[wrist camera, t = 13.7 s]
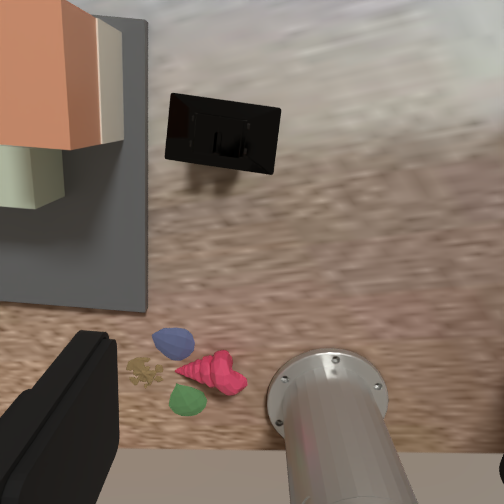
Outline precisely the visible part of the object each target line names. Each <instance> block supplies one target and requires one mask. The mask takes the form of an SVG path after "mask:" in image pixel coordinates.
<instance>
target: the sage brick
mask: <svg viewBox="0 0 504 504" xmlns="http://www.w3.org/2000/svg"><path fill="white" fill-rule="evenodd" d="M64 196H65V191H64V176H63V161H62V149H49V148H37V147H25V146H13V145H1V144H0V206H2V207H14V208H26V209H37V208H39V207H42V206H44V205H46V204H48V203H51V202H53V201H55V200H58V199H60V198H62V197H64Z"/></svg>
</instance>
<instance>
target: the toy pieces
mask: <svg viewBox="0 0 504 504" xmlns="http://www.w3.org/2000/svg"><path fill="white" fill-rule="evenodd" d="M152 338H153V341H154V343H155V346H156V348H157V349H158V350H160V351H161V352H162V353H163V354H164V355H165V356H166V357H168V358H170V359H171V360H183V359H185V358H187V357H188V356H190V354H191V353H192V352H193V351H194V345H195V342H194V339H193V336H192V334H191V333H190V332H189V331H187V330H186V329H181V328H163V329H161V330H159V331H158V332H156V333H154V334H153V335H152ZM149 360H150V358H135V359H133V360H131V361H129V362H128V365H127V368H126V370H129V371H131V370H133V374H134V375H135V376H138V375H139V376H138V378H137V379H136V378H135V377H129V378H130V381H131V382H132V383H133V384H134V385H137V384H138V382H139V380H140V381H142V382H146V381H147V382H148V384H144V387H145V389H146V387H147V386H149V385H151V383H152V381H153V379H154V376H155V375H156V373H158V372H163V367H162V365H158V364H157V365H156V367H155V371H156V372H155V371H154V370H151V371H149V369H150V367H149V366H147V367H145V366H144V362H148V361H149ZM232 365H233V360H232V357H231V355H230V354H229V352H228V351H226V350H220V351H217V352H215V353H214V356H211V355H209V356H205V357H203V359H202V360H199V359H197V360H196V361H195V362H191V363H189V364H188V365H184V366H182V367H180V368H178V369H177V370H175V372H176V373H179V374H181V375H184V376H186V377H189V378H191V379H193V380H197V381H198V382H199V383H201V384H204V383H205V384H206V385H208V386H209V387H210V388H213V387H216V388H217V389H218V390H219V391H220V392H222V393H224V394H226V395H235V394H237V393H238V392H240V391H242V390H243V389H244V388H245V387H246V386H247V379H246V378H245V377H244V376H243V375H241V374H240V373H238V372H236V371H233V370H232ZM154 380H156V381H157V382H160V381H162V380H163V379H162V378H161V376H156V378H155V379H154ZM206 403H207V399H206V397H205V395H204V393H203V392H201V391H199V390H197V389H195V388H192V387H188V386H183V385H179V384H177V383H176V386H175V388H174V390H173V392H172V394H171V397H170V401H169V406H170V408H171V409H172V410H173V412H174V413H176V414H179V415H181V416H193V415H197V414H198V413H200V412H201V411H202V410H203V409H204V408H205V407H206Z"/></svg>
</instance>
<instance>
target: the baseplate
mask: <svg viewBox="0 0 504 504" xmlns="http://www.w3.org/2000/svg"><path fill="white" fill-rule="evenodd" d="M92 16H93V17H95V18H98V19H100V20H102V21H104V22H105V23H107V24H109V25H110V26H112V27H114V28H115V29H117V30H119V31H120V32H122V66H123V112H124V140H120V141H115V142H110V143H106V144H99V145H94V146H89V147H84V148H79V149H74V150H62V161H63V176H64V191H65V196H64V197H62V198H60V199H58V200H55V201H53V202H51V203H48V204H46V205H44V206H42V207H39V208H37V209H26V208H14V207H2V206H0V301H9V302H21V303H33V304H46V305H58V306H71V307H83V308H96V309H108V310H120V311H133V312H146V310H147V308H148V22H147V21H146V20H142V19H132V18H121V17H110V16H99V15H92Z"/></svg>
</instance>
